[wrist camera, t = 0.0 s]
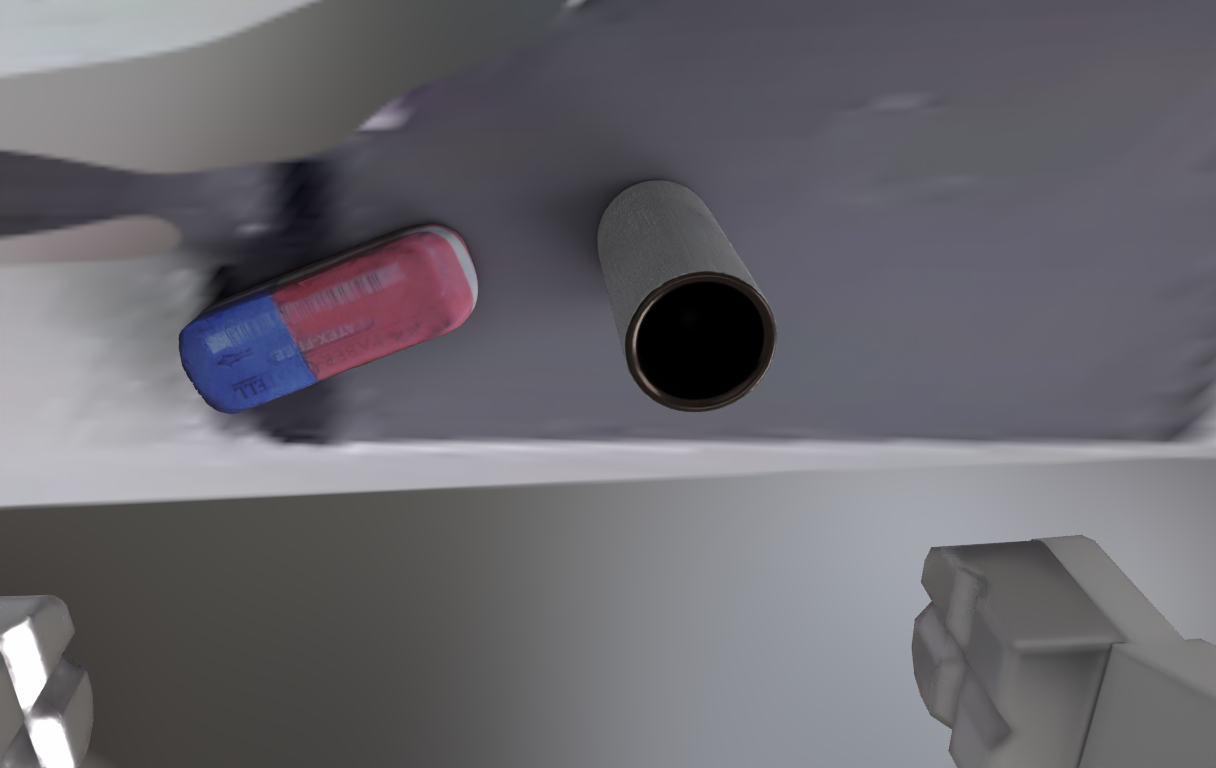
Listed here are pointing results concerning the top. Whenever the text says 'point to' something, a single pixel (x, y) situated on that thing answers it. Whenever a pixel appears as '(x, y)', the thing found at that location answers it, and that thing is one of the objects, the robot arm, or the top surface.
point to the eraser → (329, 317)
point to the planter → (682, 299)
